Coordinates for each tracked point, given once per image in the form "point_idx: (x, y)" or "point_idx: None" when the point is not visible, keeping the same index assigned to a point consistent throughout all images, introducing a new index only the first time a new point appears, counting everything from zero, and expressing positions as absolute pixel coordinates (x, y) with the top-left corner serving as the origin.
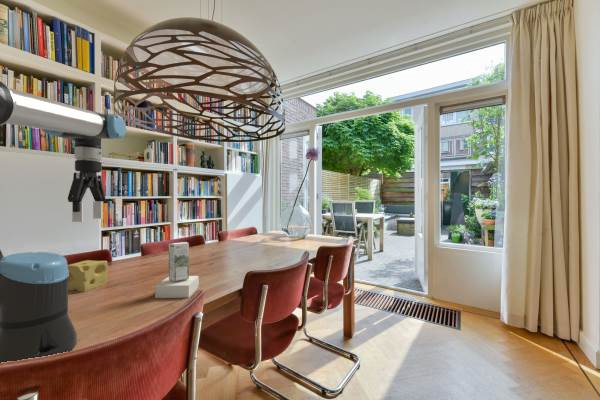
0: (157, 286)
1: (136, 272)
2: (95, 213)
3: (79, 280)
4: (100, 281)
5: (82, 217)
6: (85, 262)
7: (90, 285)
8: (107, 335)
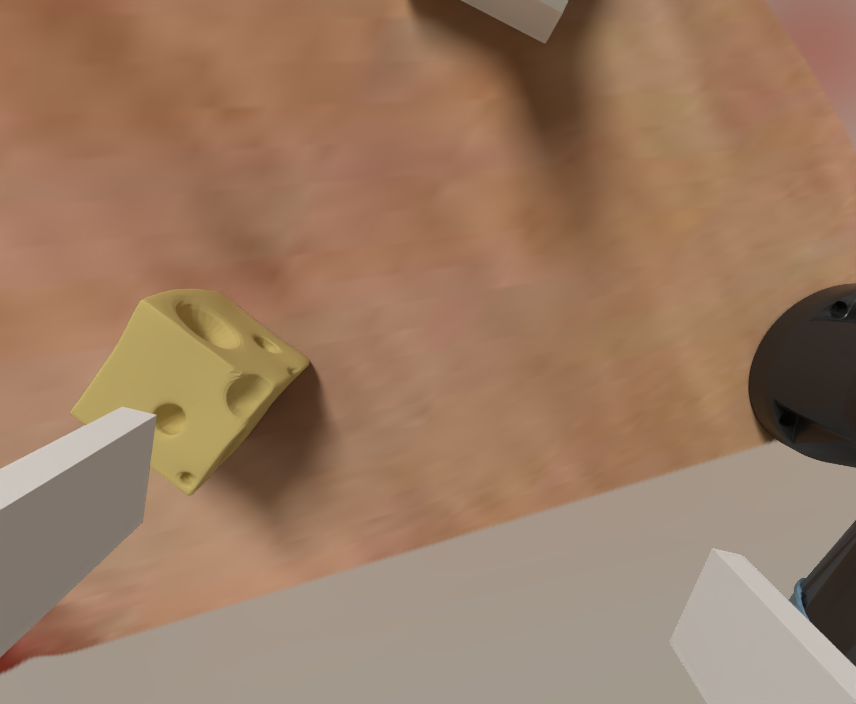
0: (566, 4)
1: (19, 160)
2: (81, 547)
3: (276, 395)
4: (234, 313)
5: (774, 597)
6: None
7: (279, 346)
8: (840, 205)
